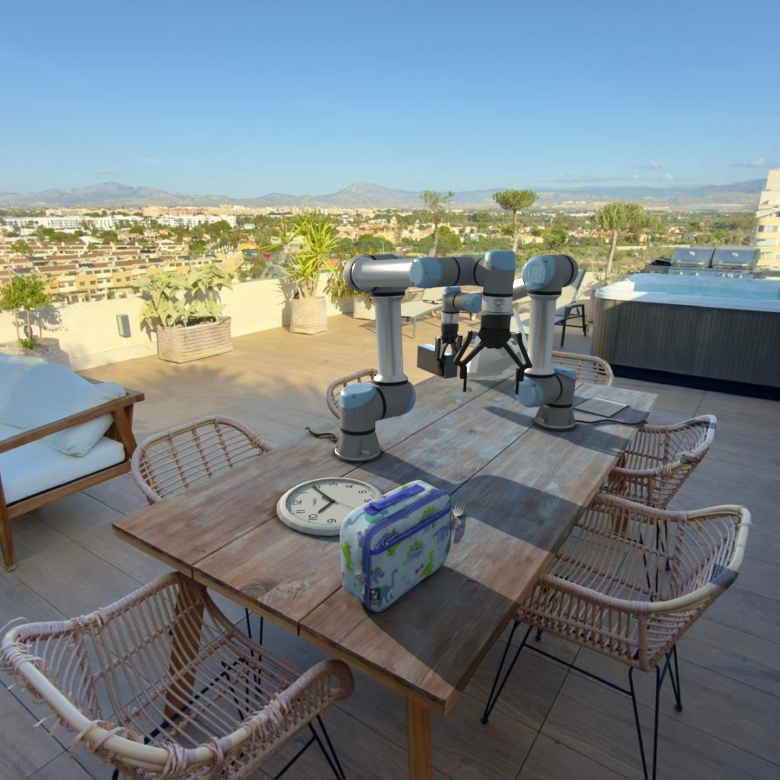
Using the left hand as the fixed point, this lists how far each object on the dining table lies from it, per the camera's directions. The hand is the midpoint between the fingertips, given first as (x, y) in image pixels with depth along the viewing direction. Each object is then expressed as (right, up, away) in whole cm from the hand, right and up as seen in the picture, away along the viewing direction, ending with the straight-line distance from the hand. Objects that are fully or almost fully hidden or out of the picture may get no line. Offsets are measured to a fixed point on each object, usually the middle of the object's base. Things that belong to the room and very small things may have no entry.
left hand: (490, 391), depth 140 cm
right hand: (-2, +7, +90) cm, 91 cm away
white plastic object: (+27, +3, +115) cm, 118 cm away
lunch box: (-25, -41, -27) cm, 55 cm away
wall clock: (-43, -31, +3) cm, 53 cm away
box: (-6, +9, +97) cm, 97 cm away
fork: (-10, -34, -4) cm, 36 cm away
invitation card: (+65, -7, +87) cm, 108 cm away
